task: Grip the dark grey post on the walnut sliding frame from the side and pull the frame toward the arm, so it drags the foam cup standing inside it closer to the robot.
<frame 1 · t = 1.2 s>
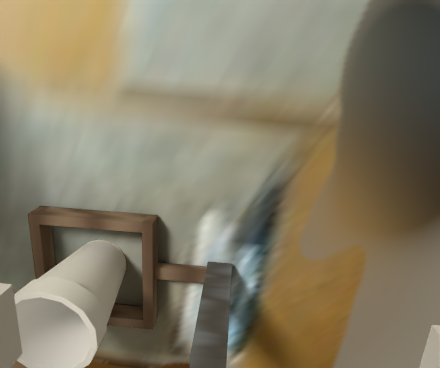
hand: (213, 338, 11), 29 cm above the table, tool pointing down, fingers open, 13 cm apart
sliding frame: (116, 304, 37), point 8 cm above the table, slide at 0.0 cm
foam cup: (102, 261, 44), on the table
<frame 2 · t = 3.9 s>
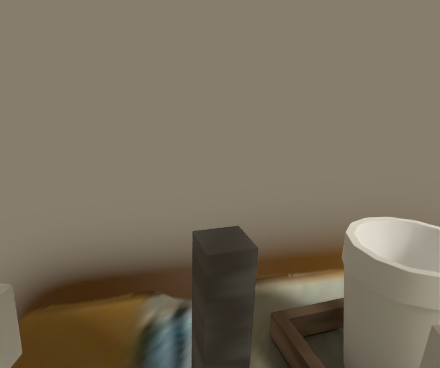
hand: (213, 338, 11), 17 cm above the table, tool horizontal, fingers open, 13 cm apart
sliding frame: (351, 312, 26), point 8 cm above the table, slide at 0.0 cm
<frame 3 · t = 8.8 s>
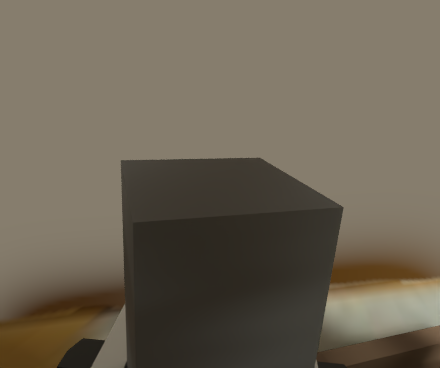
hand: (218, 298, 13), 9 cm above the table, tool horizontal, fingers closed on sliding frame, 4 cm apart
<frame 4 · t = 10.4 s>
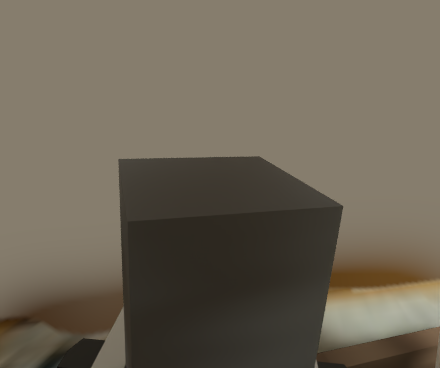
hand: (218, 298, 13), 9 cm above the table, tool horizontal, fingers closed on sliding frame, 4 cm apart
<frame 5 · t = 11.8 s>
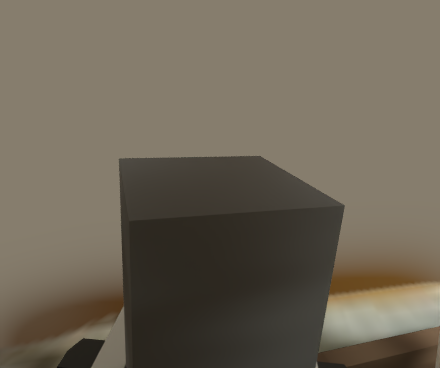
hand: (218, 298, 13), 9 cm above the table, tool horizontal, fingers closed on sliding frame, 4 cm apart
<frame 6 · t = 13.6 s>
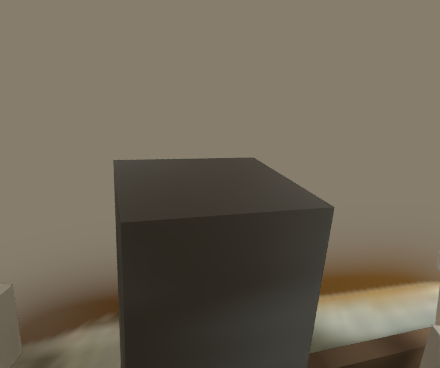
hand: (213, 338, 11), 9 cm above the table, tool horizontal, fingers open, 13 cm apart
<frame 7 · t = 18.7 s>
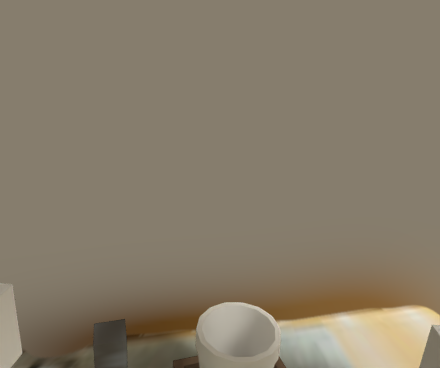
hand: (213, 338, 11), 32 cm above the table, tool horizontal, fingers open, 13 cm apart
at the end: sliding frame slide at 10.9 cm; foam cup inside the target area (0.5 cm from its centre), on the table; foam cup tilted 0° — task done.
